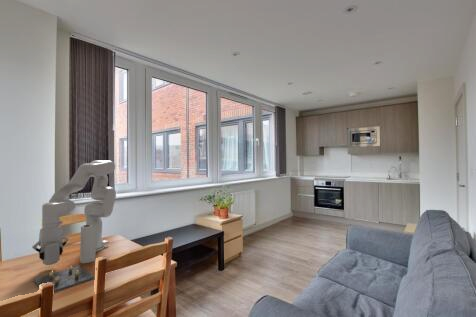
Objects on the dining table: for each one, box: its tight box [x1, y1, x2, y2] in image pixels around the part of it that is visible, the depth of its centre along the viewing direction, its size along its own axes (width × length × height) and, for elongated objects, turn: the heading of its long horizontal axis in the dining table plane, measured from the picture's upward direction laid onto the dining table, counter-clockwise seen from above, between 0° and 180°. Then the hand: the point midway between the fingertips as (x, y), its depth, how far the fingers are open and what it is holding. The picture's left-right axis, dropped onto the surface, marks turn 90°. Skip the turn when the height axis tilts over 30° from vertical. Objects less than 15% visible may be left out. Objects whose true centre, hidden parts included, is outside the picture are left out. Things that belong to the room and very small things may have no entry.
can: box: [42, 242, 61, 266], centre depth 136 cm, size 8×8×12 cm
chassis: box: [33, 264, 95, 293], centre depth 125 cm, size 20×20×4 cm
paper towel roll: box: [79, 224, 97, 264], centre depth 146 cm, size 7×6×21 cm
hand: (51, 256), depth 136 cm, fingers closed on can, 7 cm apart
